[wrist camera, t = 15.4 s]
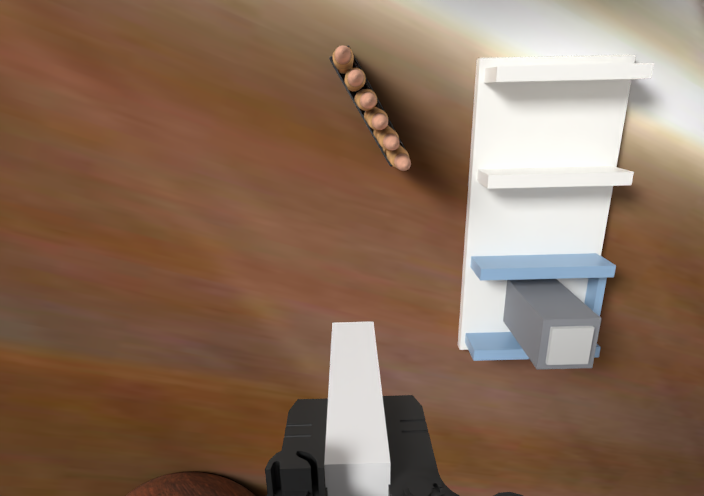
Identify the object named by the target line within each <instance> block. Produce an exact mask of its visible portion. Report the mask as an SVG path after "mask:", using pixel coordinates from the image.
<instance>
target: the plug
mask: <svg viewBox="0 0 704 496" xmlns="http://www.w3.org/2000/svg"><path fill="white" fill-rule="evenodd" d="M503 322H504V323H505V324H506V326H507V327H508V329H509V330H510V332H511V333H512V334H513V336H514V337H515V339H516V340H517V342H518V343H519V345H520V346H521V347H522V349H523V350H524V352H525V353H526V355H527V356H528V357H529V359H530V360H531V362H532V363H533V365H534V366H535V368H536V369H570V368H592V367H593V361H594V356H595V350H596V345H597V340H598V334H599V329H600V323H601V317H599V316H598V315H597V314H596V313H595V312H594V311H593V310H591V309H590V308H589V307H588V306H587V305H586V304H584V303H583V302H582V301H581V300H580V299H579V298H578V297H576V296H575V295H574V294H573V293H572V292H571V291H570V290H568V289H567V288H566V287H565V286H564V285H563V284H562V283H560V282H559V281H558V280H557V279H521V280H507V287H506V297H505V307H504V316H503Z"/></svg>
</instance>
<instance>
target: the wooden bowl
mask: <svg viewBox="0 0 704 496" xmlns="http://www.w3.org/2000/svg"><path fill="white" fill-rule="evenodd" d="M126 496H255V495H254V494H253V493H252V492H251V491H249V490H248V489H246V488H245V487H243V486H241V485H240V484H238V483H236V482H234V481H232V480H229V479H227V478H224V477H221V476H218V475H213V474H208V473H200V472H182V473H173V474H168V475H164V476H160V477H157V478H155V479H152V480H150V481H148V482H146V483H144V484H142V485H140V486H139V487H137V488H135V489H134V490H133V491H131V492H130V493H128V494H127V495H126Z"/></svg>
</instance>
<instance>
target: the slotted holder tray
mask: <svg viewBox="0 0 704 496" xmlns="http://www.w3.org/2000/svg"><path fill="white" fill-rule="evenodd" d="M635 58H636V55H592V56H547V57H501V58H478V59H477V63H476V78H475V93H474V108H473V124H472V139H471V154H470V169H469V184H468V199H467V214H466V229H465V244H464V260H463V275H462V290H461V305H460V320H459V335H458V346H459V349H460V350H469V352H470V354H471V356H472V358H473V360H474V361H476V360H514V359H529V357H528V356H527V355H526V353H525V352H524V350H523V349H522V347H521V346H520V345H519V343H518V342H517V340H516V339H515V337H514V336H513V334H512V333H511V332H510V330H509V329H508V327H507V326H506V324H505V323H504V322H503V316H504V307H505V297H506V287H507V280H521V279H557V280H558V281H559V282H560V283H562V284H563V285H564V286H565V287H566V288H567V289H568V290H570V291H571V292H572V293H573V294H574V295H575V296H576V297H578V298H579V299H580V300H581V301H582V302H583V303H584V304H586V305H587V306H588V307H589V308H590V309H591V310H593V311H594V312H595V313H596V314H597V315H598V316H599V317H600V312H601V307H602V301H603V296H604V291H605V285H606V280H607V277H614V274H615V269H616V265H614V264H613V263H611V262H609V261H608V260H606V259H605V258H603V257H602V256H601V252H602V246H603V241H604V235H605V229H606V224H607V218H608V212H609V206H610V201H611V195H612V189H613V186H618V185H631V184H632V179H633V173H634V172H632V171H629V170H625V169H621V168H617V167H616V166H617V161H618V155H619V149H620V144H621V138H622V132H623V126H624V121H625V115H626V109H627V104H628V98H629V92H630V86H631V81H632V79H650V78H652V72H653V67H654V63H635ZM600 348H601V347H600V346H599V345H598V344H597V345H596V350H595V356H594V357H599V354H600Z"/></svg>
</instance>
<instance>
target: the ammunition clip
mask: <svg viewBox="0 0 704 496" xmlns="http://www.w3.org/2000/svg"><path fill="white" fill-rule="evenodd" d="M329 59H330V61H331V63H332V65H333V67H334V69H335V70H336V72H337V74H338V76H339V77H340V79H341V81H342V83H343V84H344V86H345V88H346V90H347V91H348V93H349V95H350V97H351V99H352V100H353V102H354V104H355V106H356V107H357V109H358V111H359V113H360V114H361V116H362V118H363V120H364V121H365V123H366V125H367V127H368V128H369V130H370V132H371V134H372V136H373V137H374V139H375V141H376V143H377V144H378V146H379V148H380V150H381V151H382V153H383V155H384V157H385V158H386V160H387V162H388V163H389V165H390V166H394V167H395V168H398V169H399V170H402V171H406V170H408V169H409V168H410V166H411V161H410V159H409V154H408V152H407V151H406V149H405V147H404V145H403V143H402V142H401V140H400V138H399V136H398V134H397V132H396V131H395V129H394V127H393V125H392V123H391V121H390V120H389V118H388V116H387V114H386V112H385V111H384V109H383V107H382V105H381V103H380V101H379V100H378V98H377V96H376V94H375V92H374V90H373V89H372V87H371V85H370V83H369V81H368V80H367V78H366V76H365V74H364V72H363V70H362V69H361V67H360V65H359V63H358V61H357V59H356V58H355V56H354V54H353V52H352V50H351V48H350V47H349V46H339V47H337V48H336V49H335V50H334V52H333V57H332V56H331V57H330V58H329ZM358 67H359V68H358ZM365 80H366V81H365ZM366 82H367V83H366ZM369 87H370V88H369ZM370 89H371V90H370ZM377 102H378V103H377ZM380 107H381V108H380ZM381 109H382V110H381ZM388 122H389V123H388ZM391 127H392V128H391Z"/></svg>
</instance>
